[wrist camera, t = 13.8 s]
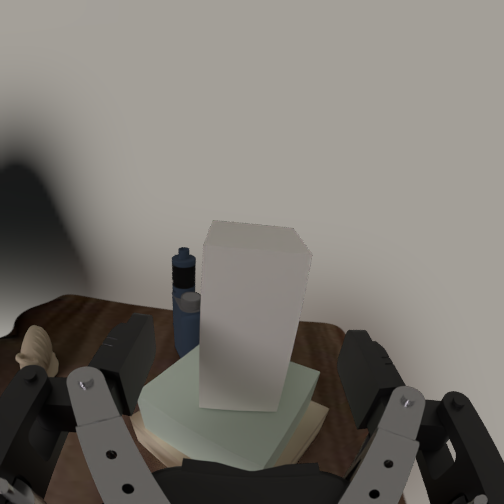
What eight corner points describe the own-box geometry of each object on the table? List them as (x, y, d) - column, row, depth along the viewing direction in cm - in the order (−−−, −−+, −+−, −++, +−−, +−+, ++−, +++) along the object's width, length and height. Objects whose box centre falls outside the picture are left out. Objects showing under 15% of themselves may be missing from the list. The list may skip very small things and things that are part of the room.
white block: (199, 407, 15) (203, 244, 12) (205, 360, 19) (213, 220, 16) (276, 411, 15) (312, 254, 12) (269, 364, 20) (293, 228, 17)
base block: (139, 443, 19) (129, 416, 17) (222, 384, 27) (223, 355, 26) (244, 523, 13) (249, 509, 12) (317, 434, 22) (329, 408, 20)
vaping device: (192, 339, 33) (192, 244, 29) (208, 366, 29) (210, 263, 25) (172, 342, 32) (168, 245, 28) (185, 371, 28) (181, 266, 24)
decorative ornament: (62, 351, 27) (51, 312, 25) (52, 403, 19) (33, 362, 18) (34, 350, 25) (21, 312, 23) (19, 400, 18) (-2, 360, 16)
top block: (145, 427, 17) (135, 392, 15) (214, 366, 24) (215, 331, 23) (256, 492, 13) (263, 466, 12) (308, 406, 21) (320, 371, 19)
